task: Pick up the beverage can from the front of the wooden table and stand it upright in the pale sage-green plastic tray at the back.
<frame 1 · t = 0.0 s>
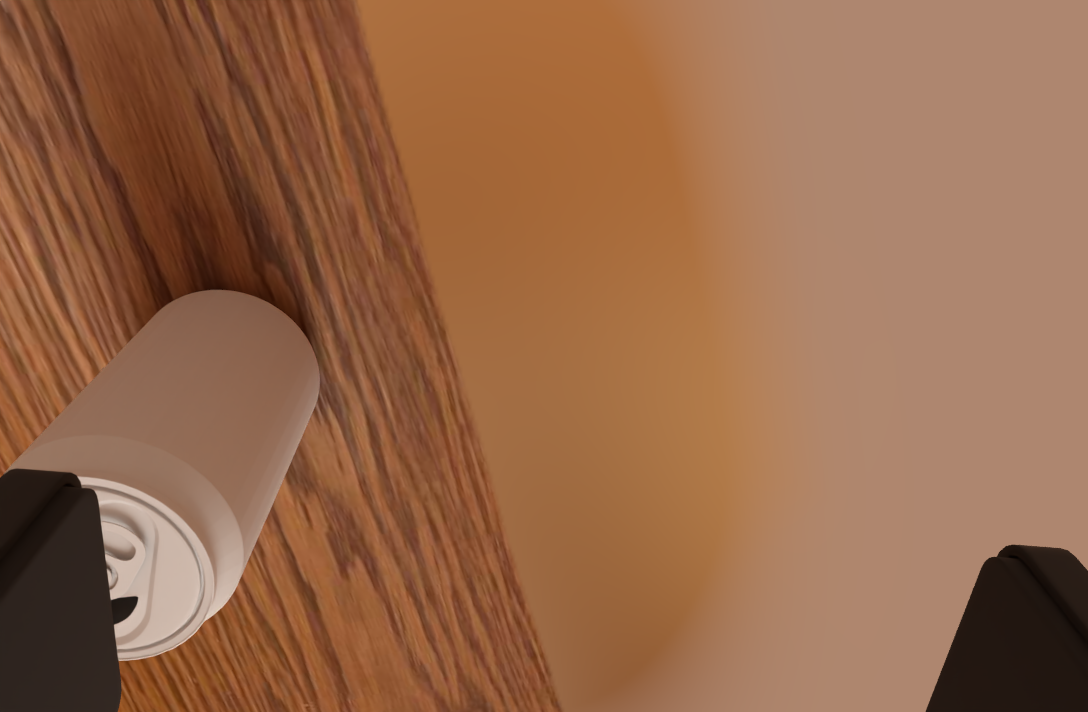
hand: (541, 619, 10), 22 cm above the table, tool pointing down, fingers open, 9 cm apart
beverage can: (238, 360, 33), on the table
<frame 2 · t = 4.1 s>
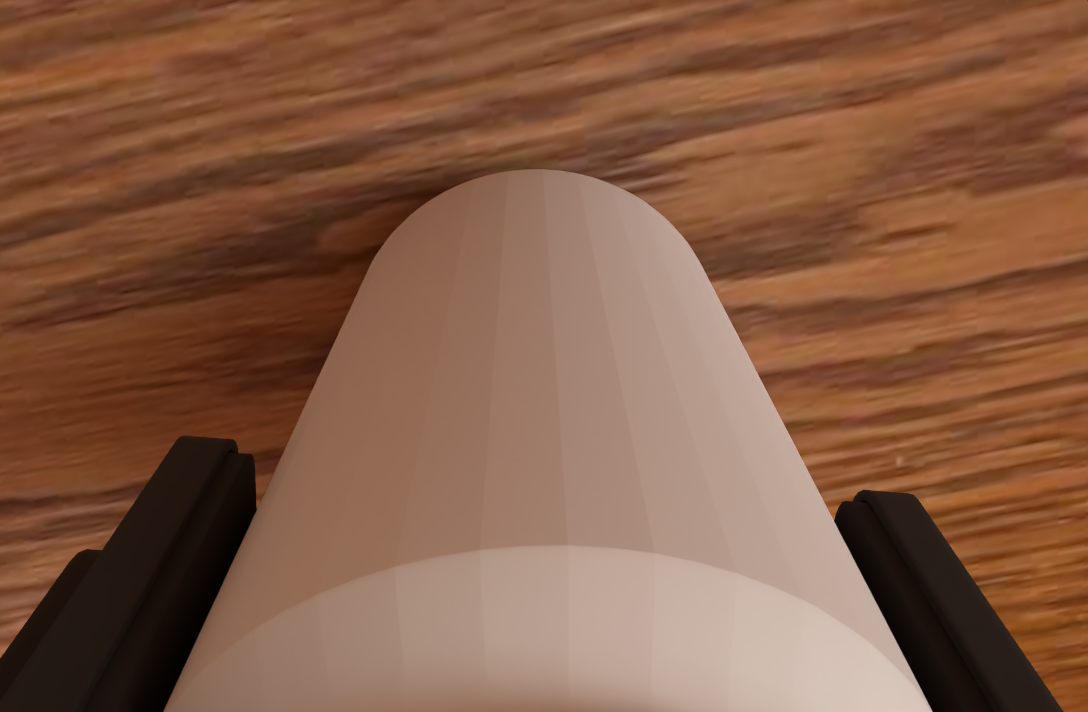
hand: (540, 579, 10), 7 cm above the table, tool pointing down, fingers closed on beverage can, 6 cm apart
beverage can: (534, 324, 17), on the table, touching gripper
when the fingers open (8 cm above the table, at t = 12.4 s): beverage can stays where it is, resting on tray.
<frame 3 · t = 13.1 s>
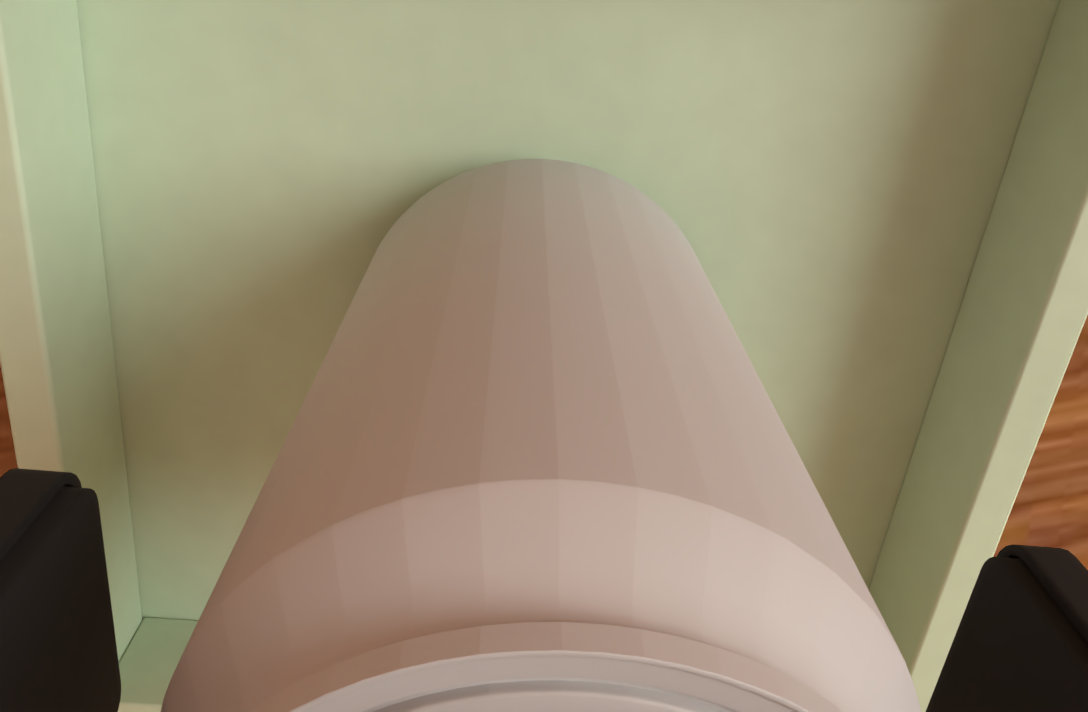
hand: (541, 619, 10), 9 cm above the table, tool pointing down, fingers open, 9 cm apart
tray: (537, 308, 18), on the table
beverage can: (533, 310, 17), resting on tray
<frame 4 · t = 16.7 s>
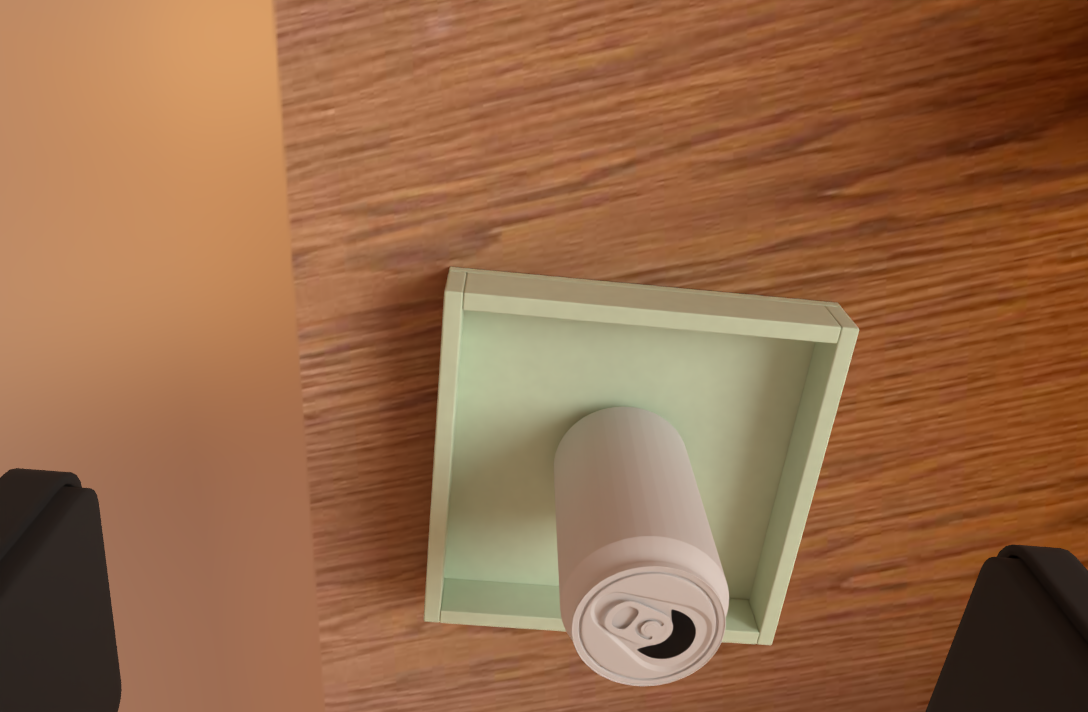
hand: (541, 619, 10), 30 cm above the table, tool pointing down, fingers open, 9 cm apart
tray: (618, 452, 44), on the table
beverage can: (618, 454, 44), resting on tray
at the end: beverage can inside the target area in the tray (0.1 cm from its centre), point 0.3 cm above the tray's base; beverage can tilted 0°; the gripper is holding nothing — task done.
